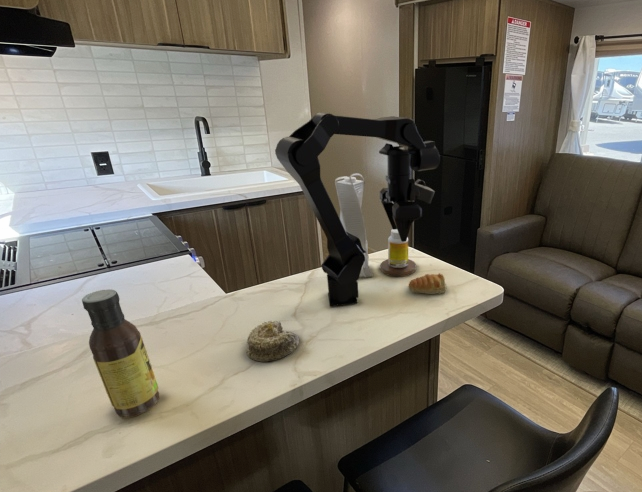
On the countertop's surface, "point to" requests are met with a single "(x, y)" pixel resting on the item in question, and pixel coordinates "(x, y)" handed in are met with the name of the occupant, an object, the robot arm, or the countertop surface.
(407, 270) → the brown round coaster
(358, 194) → the skyscraper
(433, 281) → the pastry
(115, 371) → the sauce bottle
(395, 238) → the supplement bottle
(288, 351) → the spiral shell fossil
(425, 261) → the countertop surface
